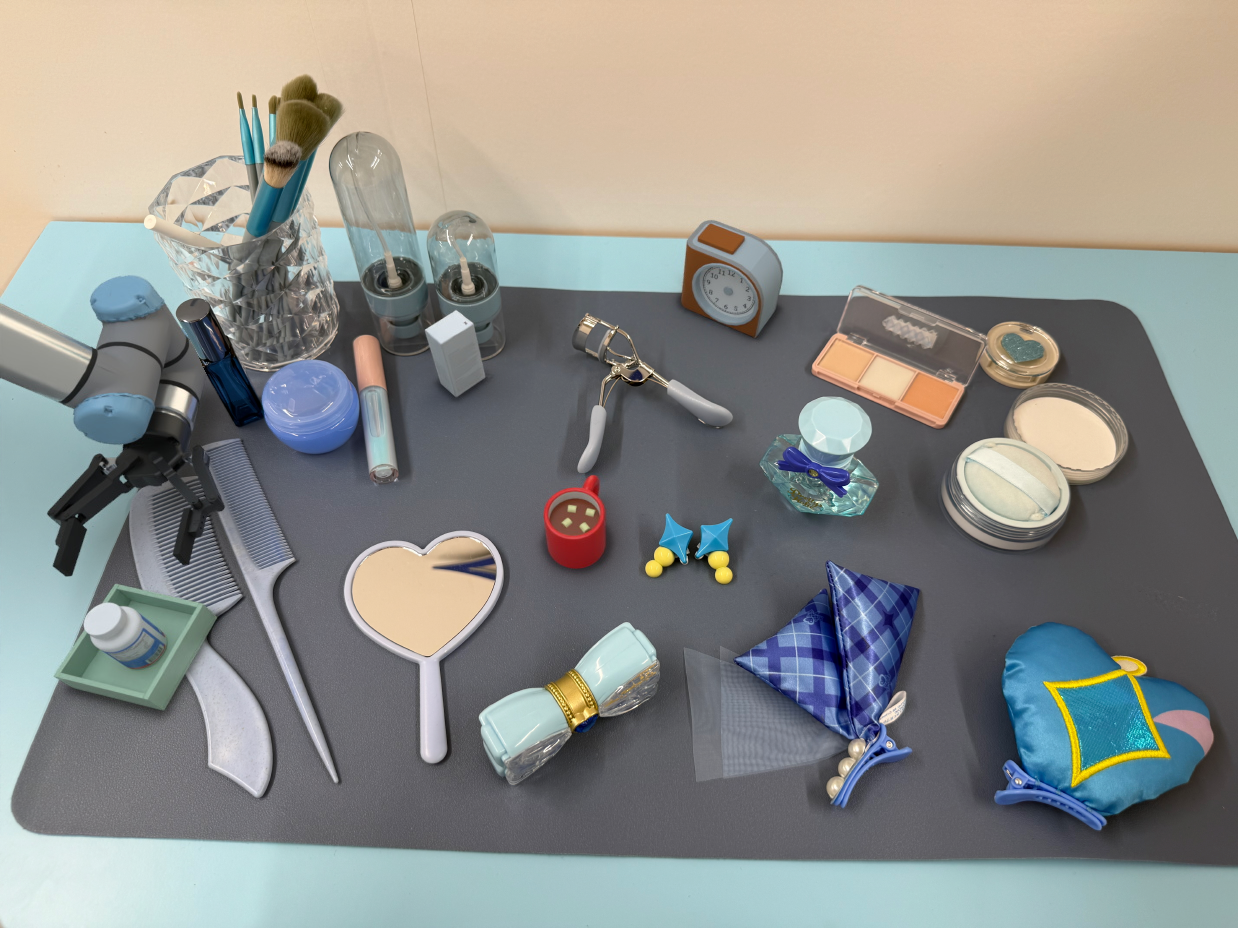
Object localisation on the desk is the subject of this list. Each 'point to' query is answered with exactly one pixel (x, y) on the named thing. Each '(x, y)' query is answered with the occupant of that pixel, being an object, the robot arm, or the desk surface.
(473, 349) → the cosmetic box
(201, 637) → the tray
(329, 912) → the desk surface
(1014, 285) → the desk surface
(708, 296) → the alarm clock
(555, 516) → the mug
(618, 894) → the desk surface
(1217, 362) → the desk surface
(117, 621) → the pill bottle
